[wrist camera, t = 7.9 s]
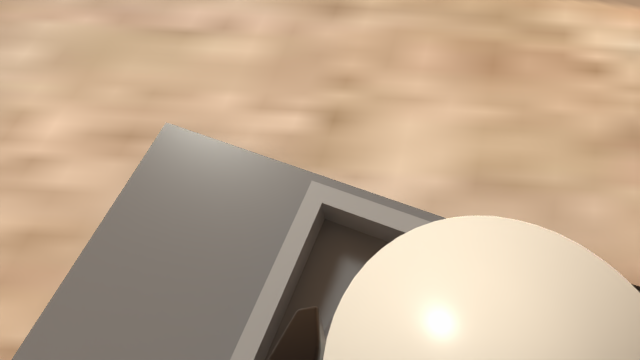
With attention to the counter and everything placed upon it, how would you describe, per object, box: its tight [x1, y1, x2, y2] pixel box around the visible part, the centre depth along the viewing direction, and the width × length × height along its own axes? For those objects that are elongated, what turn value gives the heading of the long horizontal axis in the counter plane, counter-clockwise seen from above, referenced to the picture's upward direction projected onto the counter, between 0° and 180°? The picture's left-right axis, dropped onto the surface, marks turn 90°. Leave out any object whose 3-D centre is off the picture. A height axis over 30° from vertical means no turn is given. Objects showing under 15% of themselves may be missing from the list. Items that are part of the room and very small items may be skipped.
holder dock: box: [12, 123, 446, 360], centre depth 16 cm, size 22×14×3 cm, turn 68°
